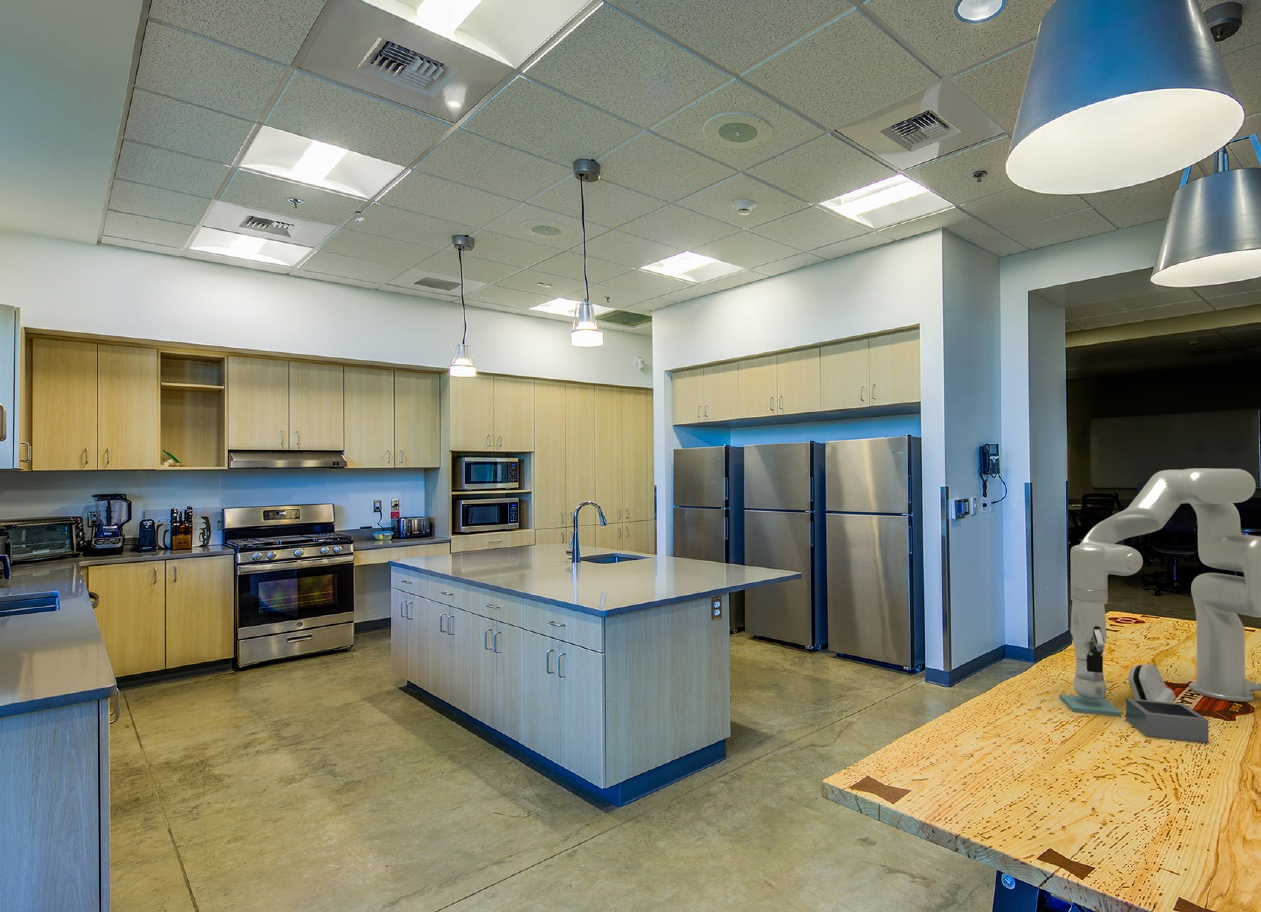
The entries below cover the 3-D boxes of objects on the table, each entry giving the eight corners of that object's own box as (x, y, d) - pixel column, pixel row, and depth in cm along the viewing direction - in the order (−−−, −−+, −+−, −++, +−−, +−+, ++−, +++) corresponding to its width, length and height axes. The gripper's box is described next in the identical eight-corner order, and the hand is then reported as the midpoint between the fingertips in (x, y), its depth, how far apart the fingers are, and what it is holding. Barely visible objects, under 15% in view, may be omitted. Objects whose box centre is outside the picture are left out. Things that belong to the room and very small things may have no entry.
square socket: (1183, 725, 152) (1183, 703, 152) (1208, 743, 142) (1208, 720, 142) (1125, 719, 155) (1125, 698, 155) (1146, 736, 145) (1145, 714, 145)
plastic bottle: (1107, 704, 159) (1106, 621, 159) (1073, 699, 162) (1073, 618, 163) (1105, 696, 164) (1104, 616, 165) (1072, 691, 168) (1072, 613, 168)
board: (1104, 702, 167) (1104, 698, 167) (1121, 716, 157) (1121, 712, 157) (1059, 698, 170) (1059, 694, 170) (1073, 711, 160) (1073, 707, 160)
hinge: (1163, 713, 159) (1145, 671, 162) (1140, 714, 163) (1123, 673, 165) (1176, 697, 171) (1159, 658, 173) (1154, 699, 174) (1138, 660, 177)
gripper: (1060, 588, 173) (1060, 657, 173) (1084, 601, 157) (1084, 677, 156) (1093, 589, 171) (1094, 659, 171) (1121, 603, 154) (1121, 680, 154)
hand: (1089, 667), depth 163 cm, fingers closed on plastic bottle, 5 cm apart
